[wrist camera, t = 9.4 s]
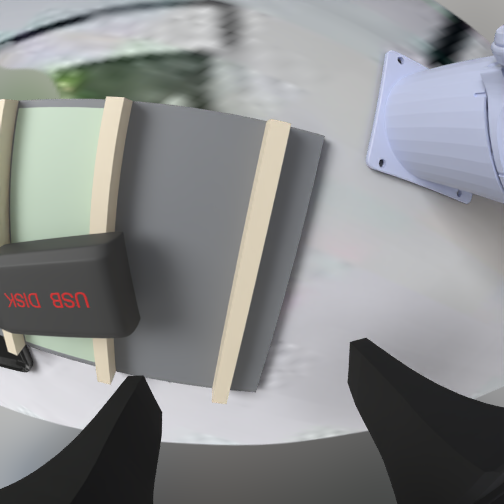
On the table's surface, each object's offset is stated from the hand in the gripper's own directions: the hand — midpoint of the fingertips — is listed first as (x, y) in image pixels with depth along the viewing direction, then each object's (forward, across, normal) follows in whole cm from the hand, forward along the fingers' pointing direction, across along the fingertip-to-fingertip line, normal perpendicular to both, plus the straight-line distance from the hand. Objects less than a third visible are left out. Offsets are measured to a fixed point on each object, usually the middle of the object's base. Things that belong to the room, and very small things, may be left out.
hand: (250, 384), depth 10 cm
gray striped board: (+9, +8, -3) cm, 12 cm away
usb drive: (+7, +12, -2) cm, 14 cm away
